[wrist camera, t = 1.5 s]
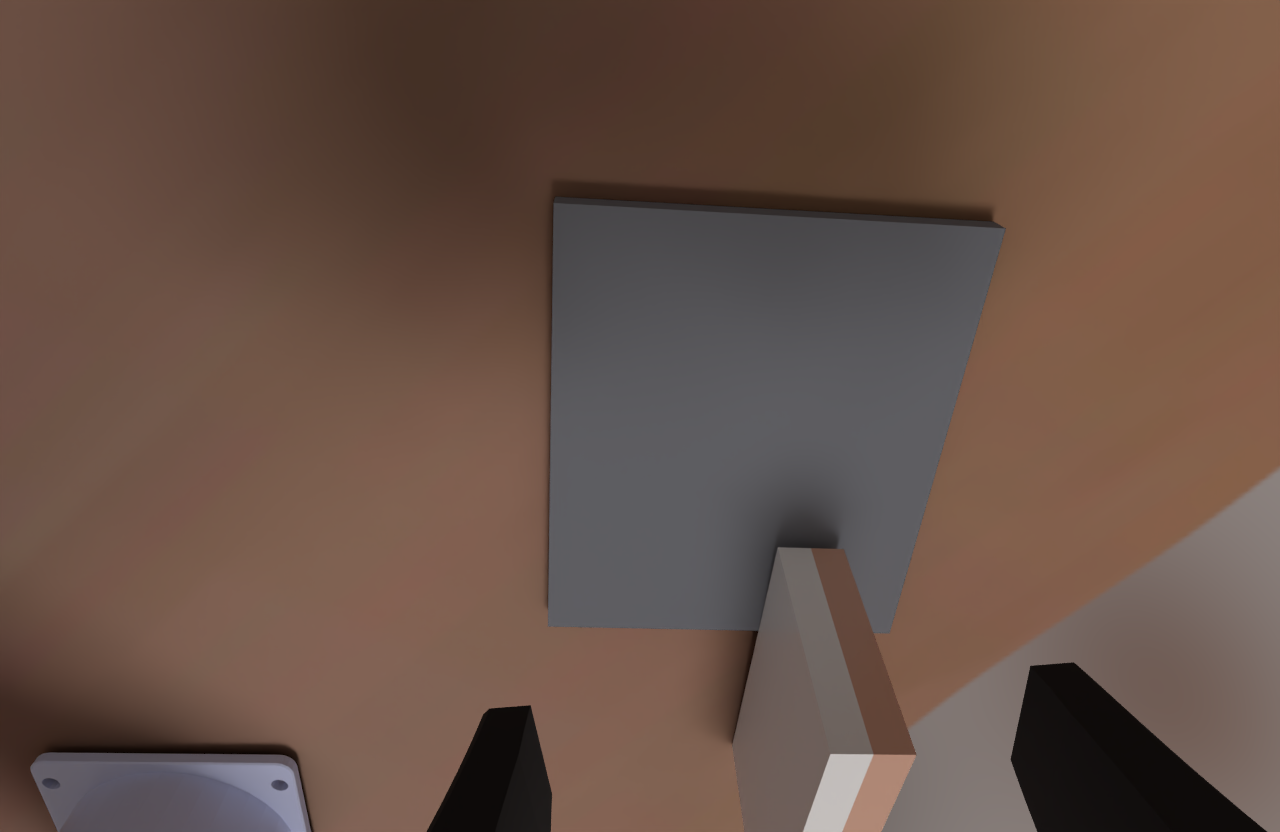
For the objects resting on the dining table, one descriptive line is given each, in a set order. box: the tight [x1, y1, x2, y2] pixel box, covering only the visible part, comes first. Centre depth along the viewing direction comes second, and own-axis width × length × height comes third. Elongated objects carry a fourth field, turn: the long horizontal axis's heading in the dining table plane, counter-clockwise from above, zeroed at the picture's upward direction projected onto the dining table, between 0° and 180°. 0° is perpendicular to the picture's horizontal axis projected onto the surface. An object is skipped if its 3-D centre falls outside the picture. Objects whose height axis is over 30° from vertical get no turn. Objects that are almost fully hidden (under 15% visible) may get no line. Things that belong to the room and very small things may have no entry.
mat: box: [548, 197, 1006, 633], centre depth 20 cm, size 12×10×1 cm
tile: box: [732, 547, 916, 832], centre depth 21 cm, size 9×2×6 cm, turn 176°
